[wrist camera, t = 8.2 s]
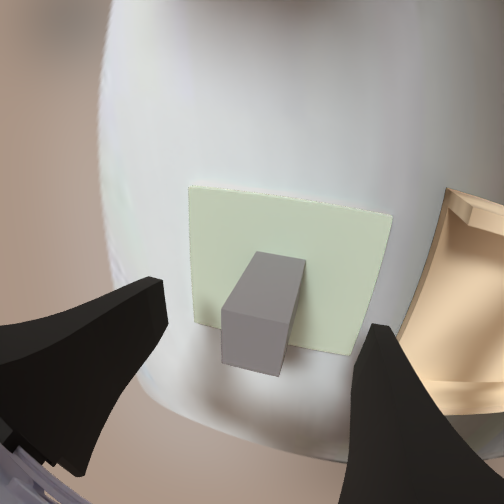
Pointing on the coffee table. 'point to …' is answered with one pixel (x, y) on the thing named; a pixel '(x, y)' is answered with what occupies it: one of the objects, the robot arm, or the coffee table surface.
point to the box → (461, 309)
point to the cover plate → (293, 233)
